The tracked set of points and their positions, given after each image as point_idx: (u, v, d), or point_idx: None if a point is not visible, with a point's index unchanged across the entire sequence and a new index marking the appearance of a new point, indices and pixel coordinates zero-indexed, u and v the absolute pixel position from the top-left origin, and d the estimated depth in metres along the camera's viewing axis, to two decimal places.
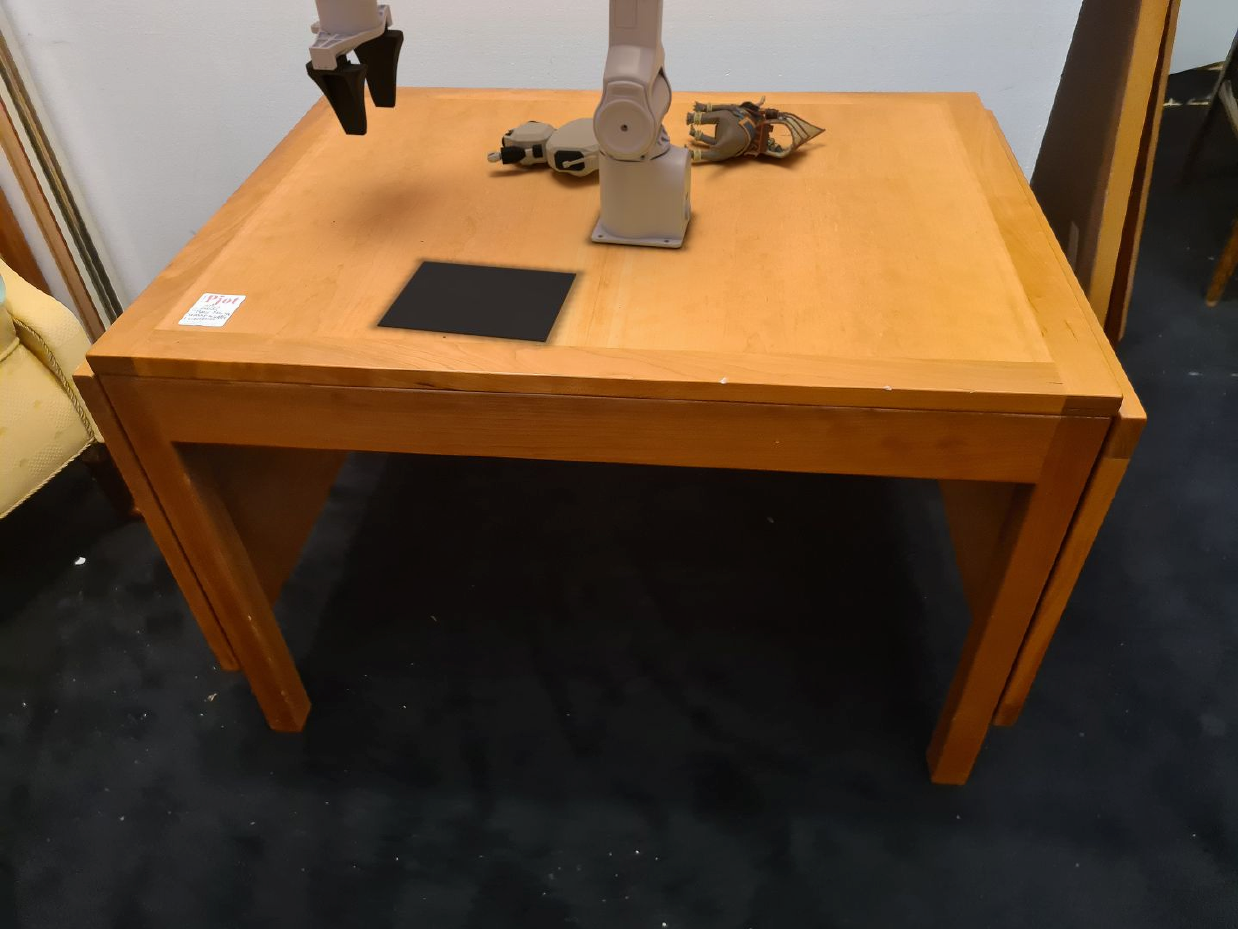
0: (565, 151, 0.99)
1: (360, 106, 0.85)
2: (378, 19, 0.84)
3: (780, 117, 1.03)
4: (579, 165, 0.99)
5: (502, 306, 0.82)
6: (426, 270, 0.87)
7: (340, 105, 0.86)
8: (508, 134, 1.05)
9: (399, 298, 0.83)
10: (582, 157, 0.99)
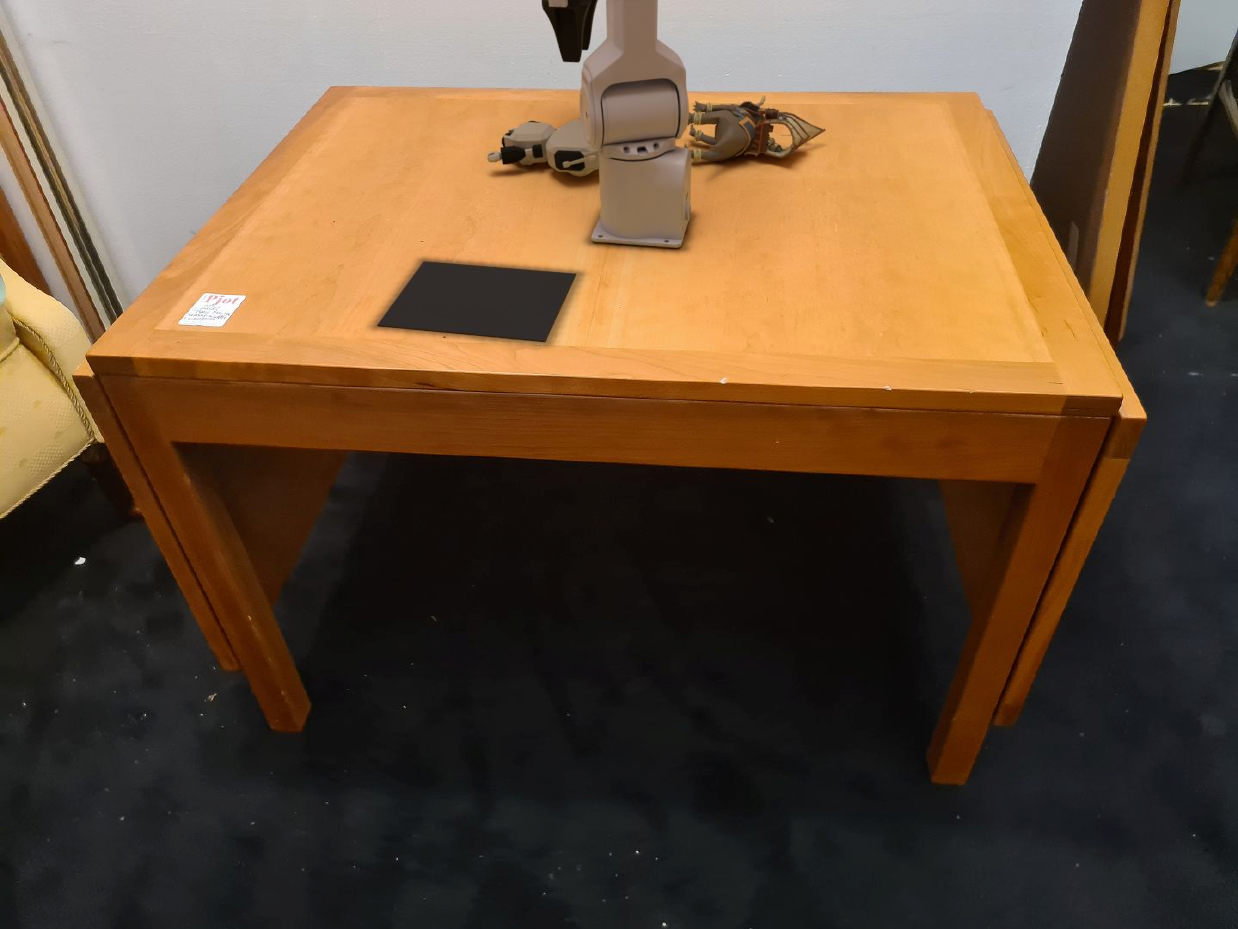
0: (565, 151, 0.99)
1: (581, 36, 1.03)
2: None
3: (780, 117, 1.03)
4: (579, 165, 0.99)
5: (502, 306, 0.82)
6: (426, 270, 0.87)
7: (563, 36, 1.03)
8: (508, 134, 1.05)
9: (399, 298, 0.83)
10: (582, 157, 0.99)
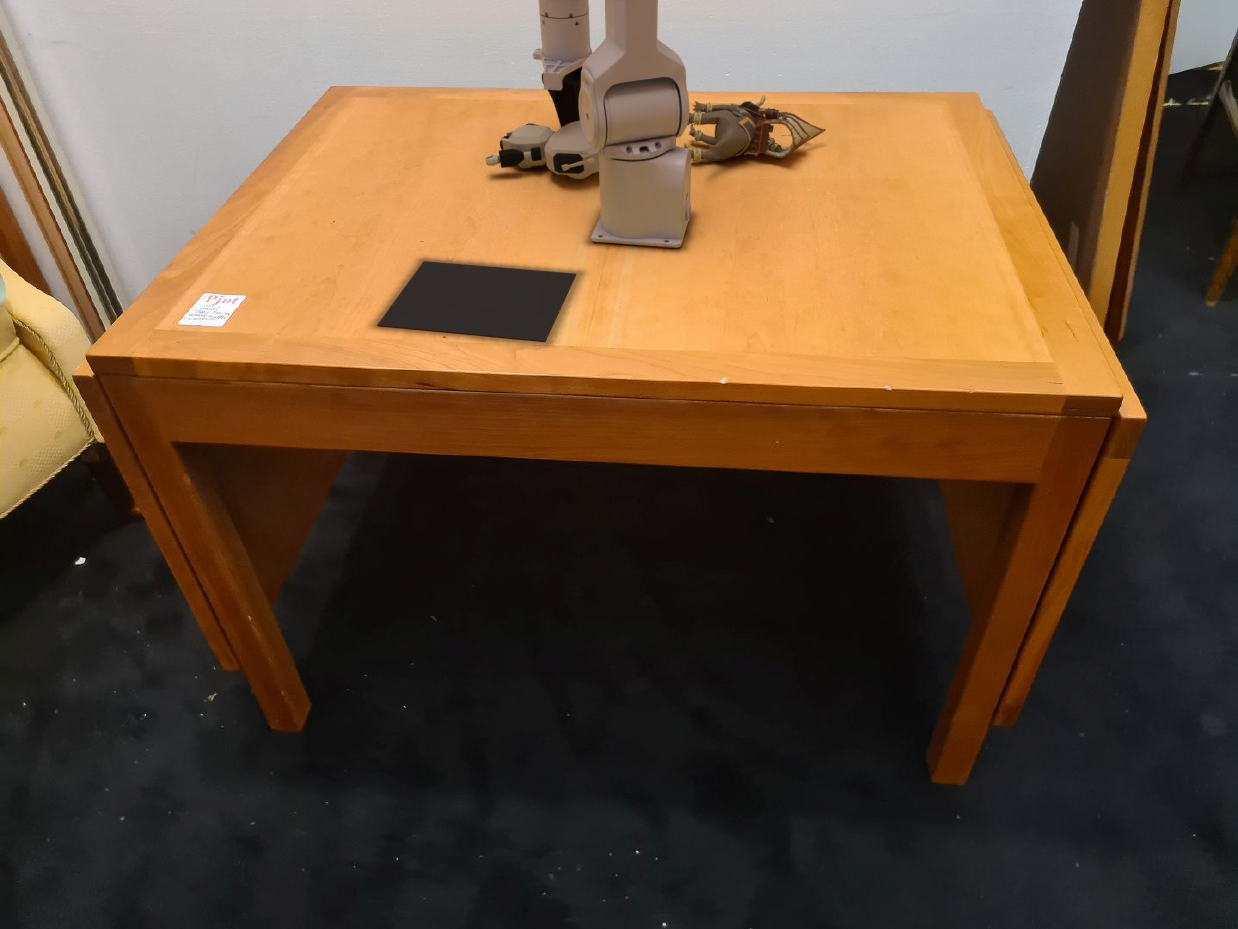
0: (564, 154, 0.99)
1: None
2: (590, 48, 1.02)
3: (780, 117, 1.03)
4: (578, 168, 0.99)
5: (502, 306, 0.82)
6: (426, 270, 0.87)
7: (562, 107, 1.07)
8: (506, 137, 1.05)
9: (399, 298, 0.83)
10: (581, 160, 0.98)
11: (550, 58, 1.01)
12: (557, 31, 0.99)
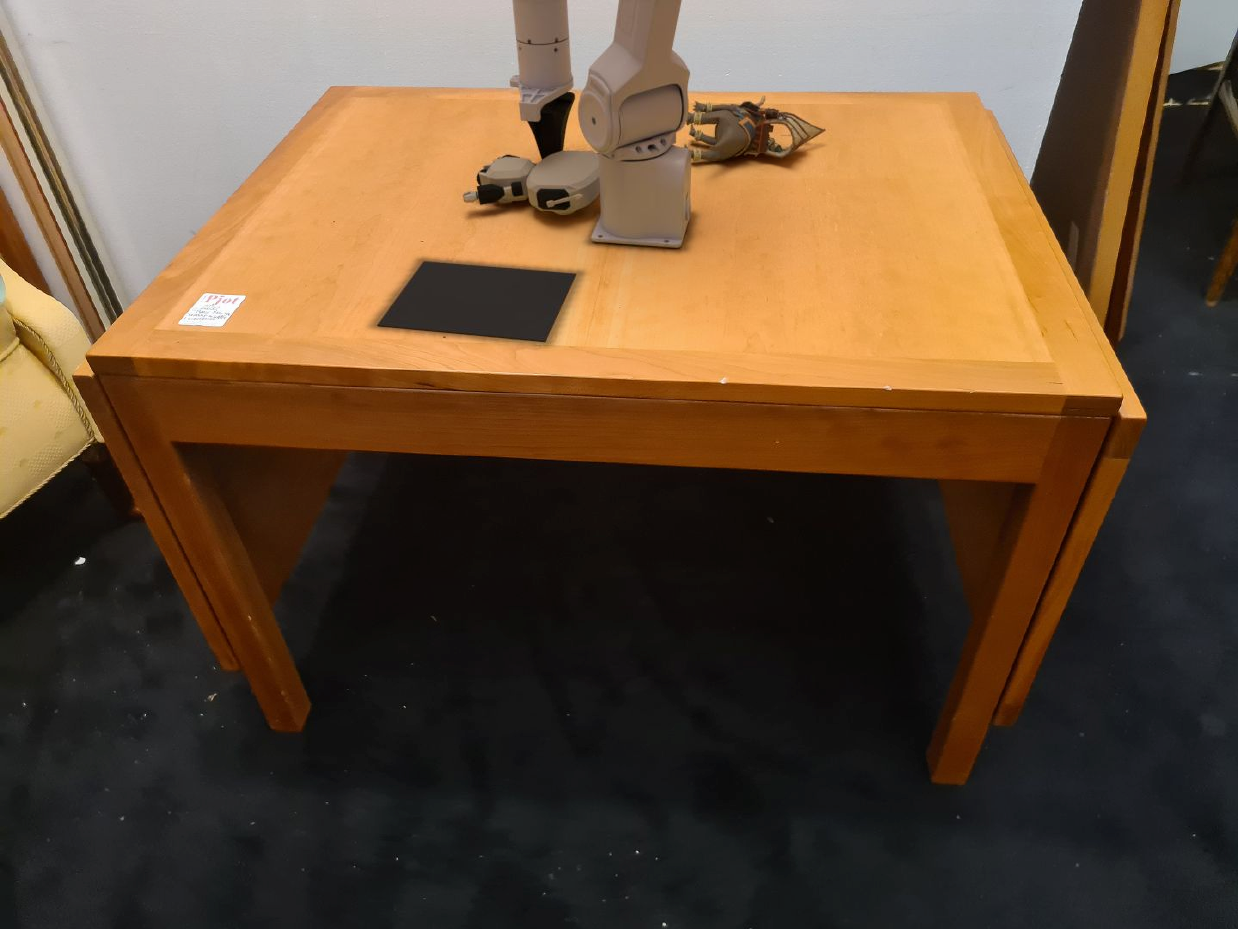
0: (548, 189, 0.92)
1: (560, 138, 0.99)
2: (570, 75, 0.95)
3: (780, 117, 1.03)
4: (564, 204, 0.92)
5: (502, 306, 0.82)
6: (426, 270, 0.87)
7: (542, 137, 1.00)
8: (484, 170, 0.97)
9: (399, 298, 0.83)
10: (567, 196, 0.91)
11: (528, 86, 0.94)
12: (535, 58, 0.92)
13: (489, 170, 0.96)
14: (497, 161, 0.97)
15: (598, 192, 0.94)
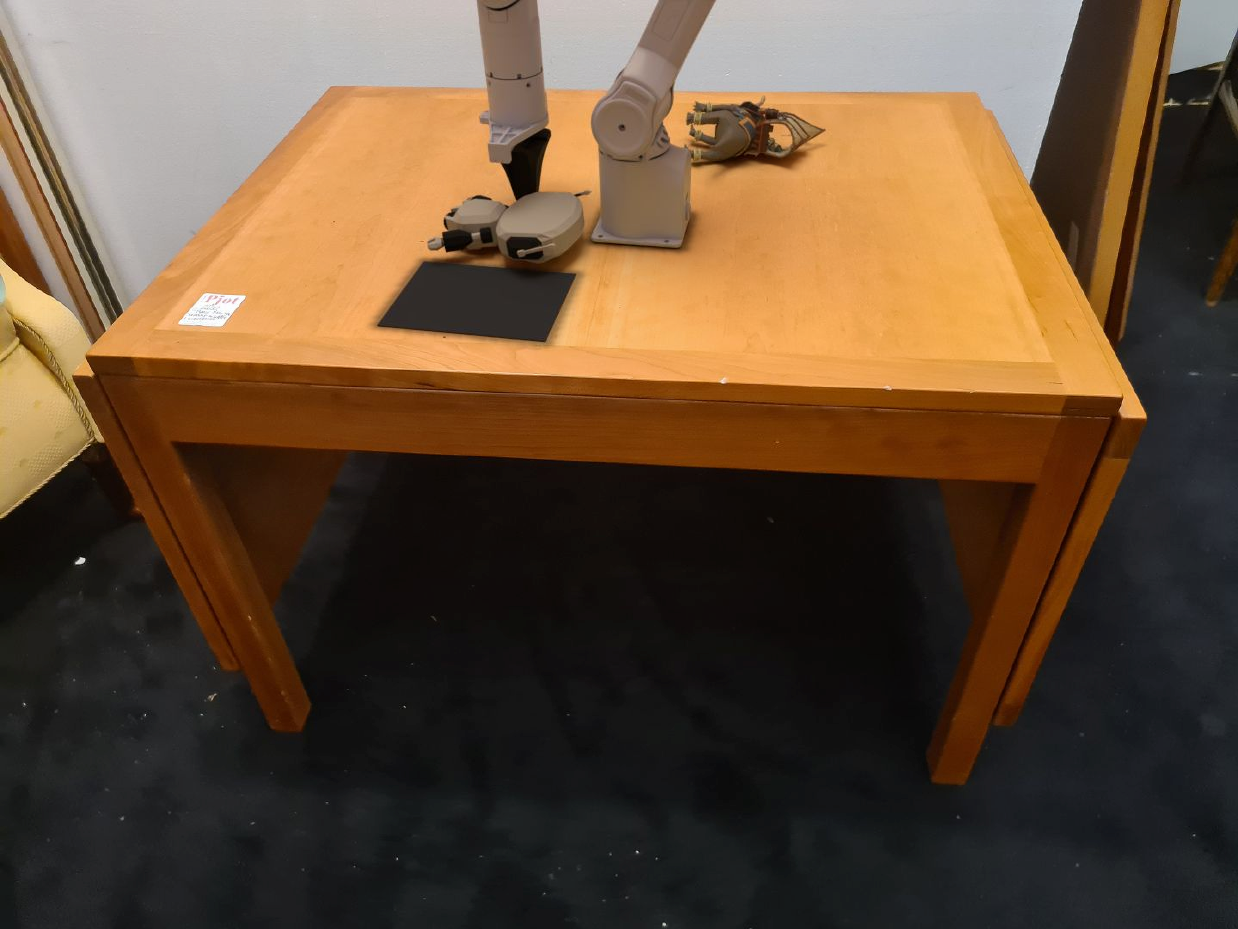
0: (519, 238, 0.84)
1: (535, 178, 0.91)
2: (545, 111, 0.87)
3: (780, 117, 1.03)
4: (536, 254, 0.84)
5: (502, 306, 0.82)
6: (426, 270, 0.87)
7: (515, 177, 0.92)
8: (451, 214, 0.90)
9: (399, 298, 0.83)
10: (539, 245, 0.84)
11: (498, 124, 0.86)
12: (505, 94, 0.84)
13: (456, 214, 0.88)
14: (465, 204, 0.89)
15: (574, 239, 0.86)
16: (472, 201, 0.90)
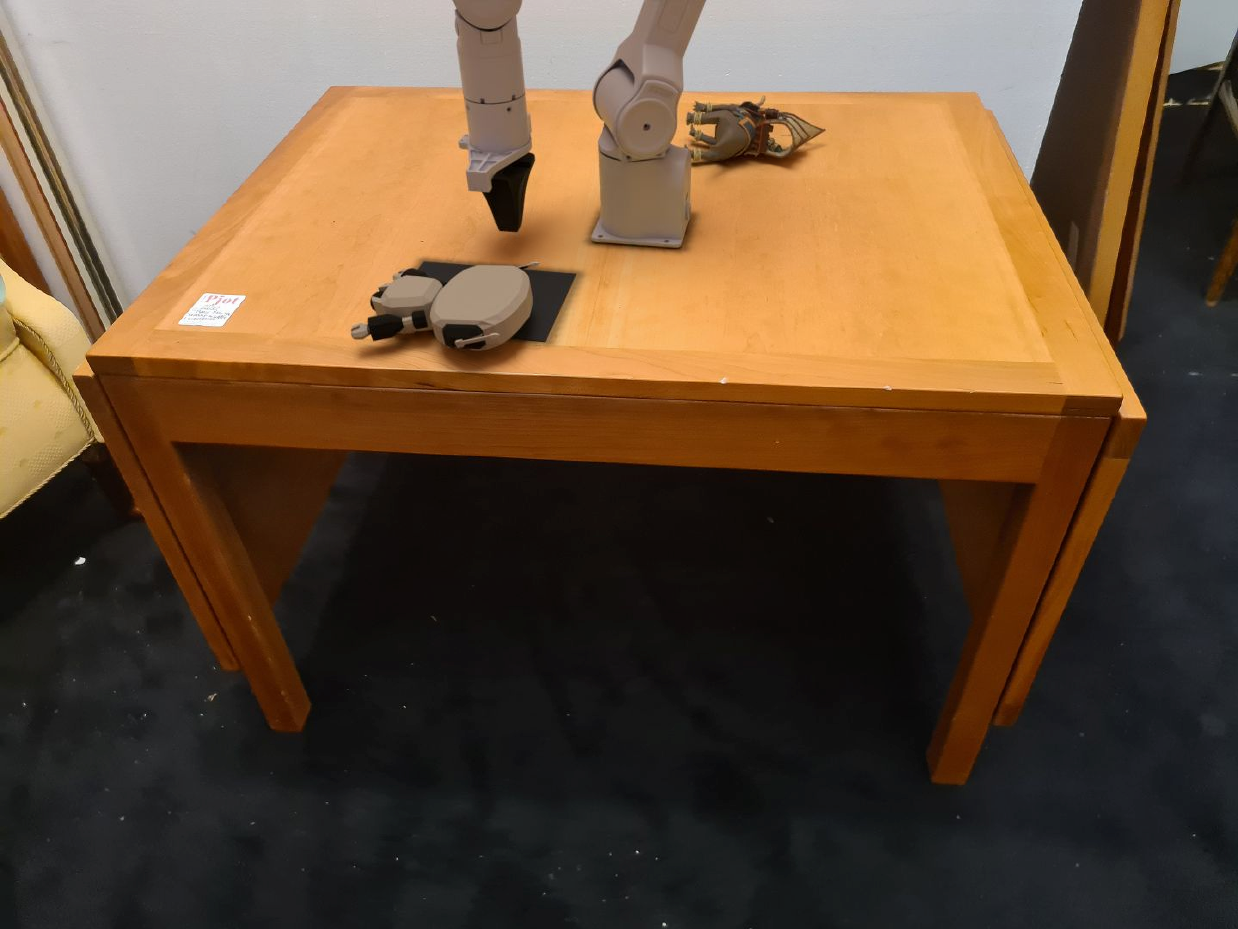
0: (457, 325, 0.72)
1: (518, 206, 0.86)
2: (528, 135, 0.83)
3: (780, 117, 1.03)
4: (478, 343, 0.73)
5: None
6: (426, 270, 0.87)
7: (497, 204, 0.87)
8: (378, 294, 0.78)
9: None
10: (481, 333, 0.72)
11: (478, 149, 0.82)
12: (485, 119, 0.79)
13: (384, 296, 0.77)
14: (395, 282, 0.78)
15: (521, 323, 0.75)
16: (402, 278, 0.78)
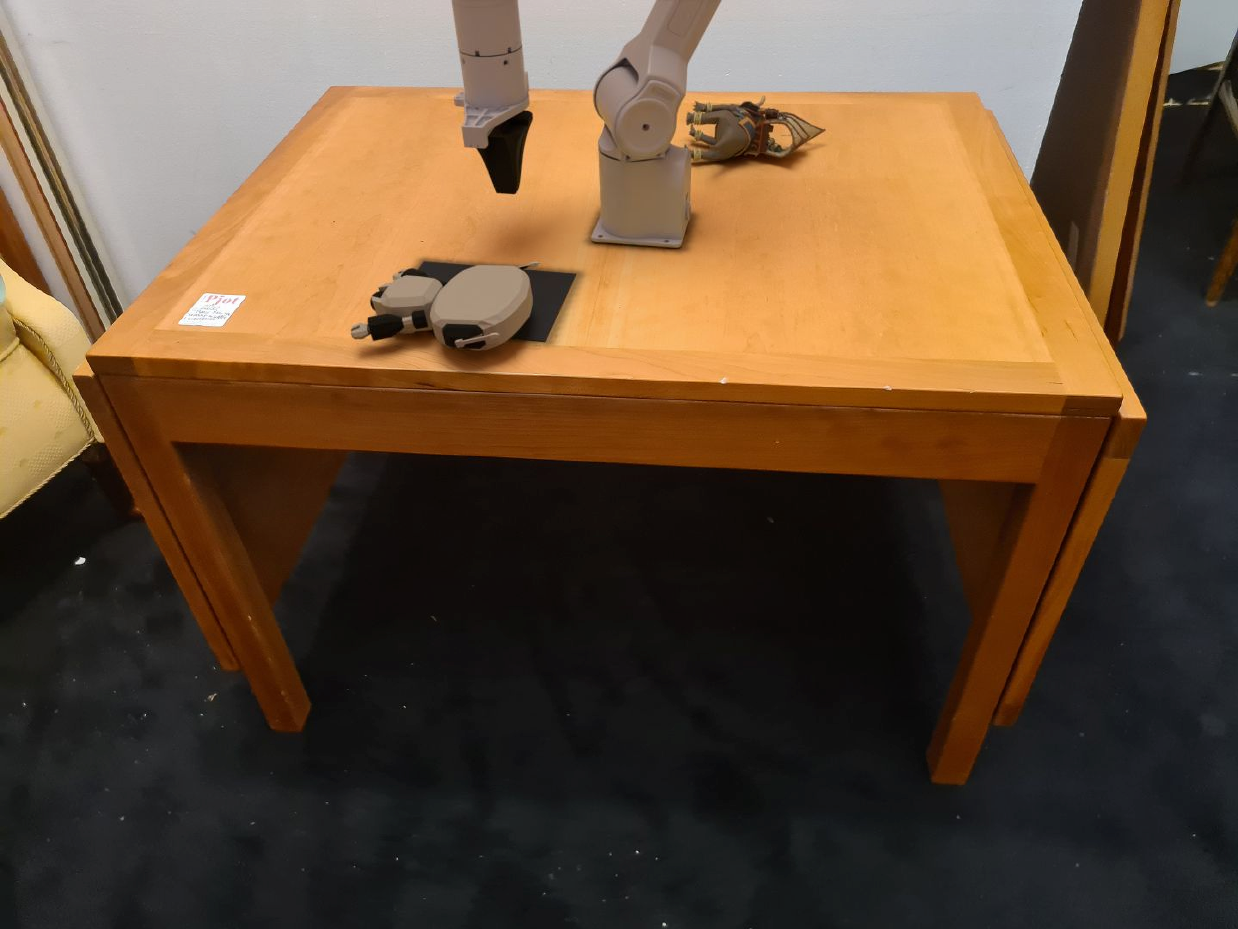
0: (457, 325, 0.72)
1: (516, 166, 0.84)
2: (525, 91, 0.80)
3: (780, 117, 1.03)
4: (478, 343, 0.73)
5: None
6: (426, 270, 0.87)
7: (494, 165, 0.85)
8: (378, 294, 0.78)
9: None
10: (481, 333, 0.72)
11: (474, 106, 0.79)
12: (481, 72, 0.77)
13: (384, 295, 0.77)
14: (395, 282, 0.78)
15: (521, 322, 0.75)
16: (403, 278, 0.78)
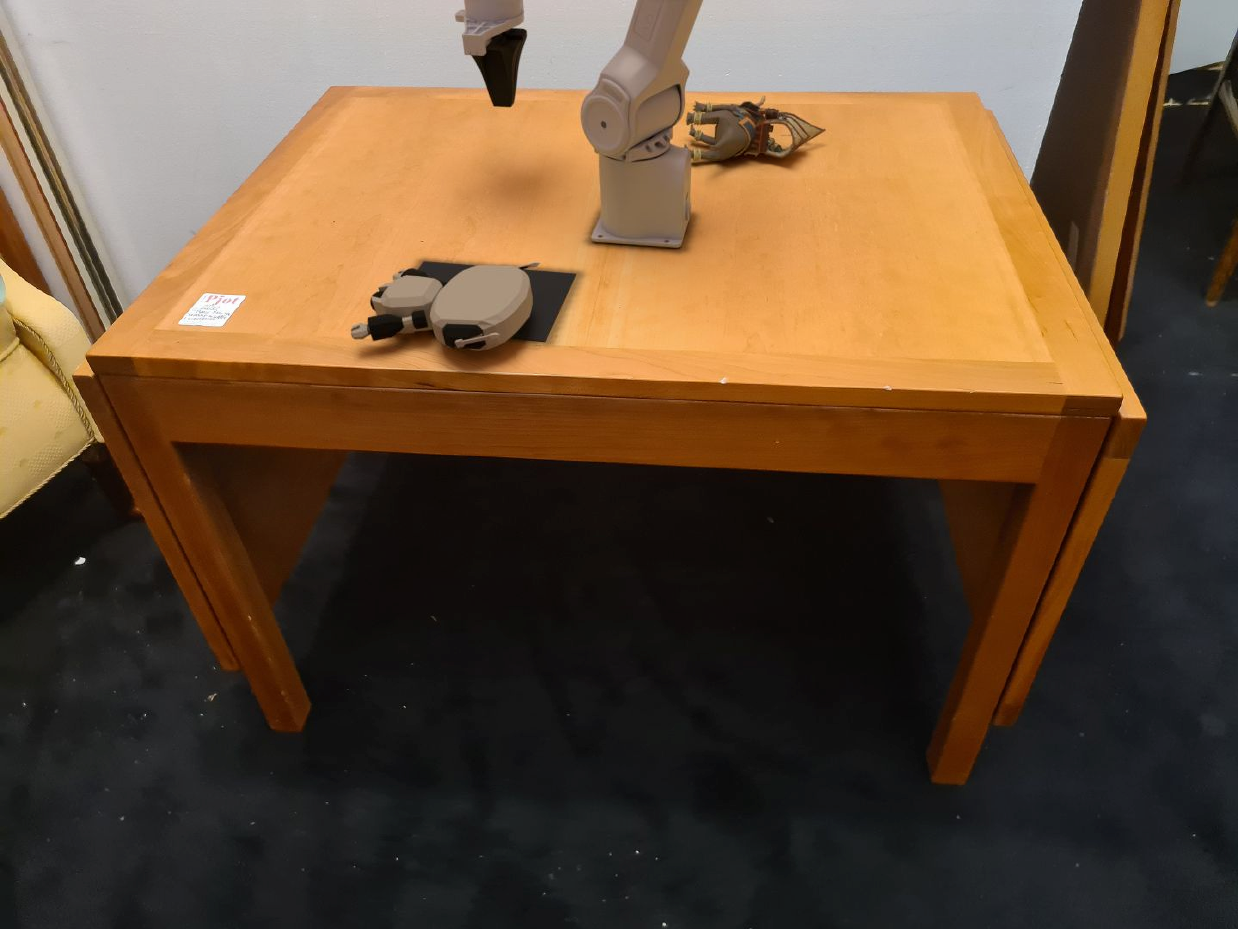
0: (457, 325, 0.72)
1: (511, 79, 0.92)
2: (520, 8, 0.88)
3: (780, 117, 1.03)
4: (478, 343, 0.73)
5: None
6: (426, 270, 0.87)
7: (491, 78, 0.93)
8: (378, 294, 0.78)
9: None
10: (481, 333, 0.72)
11: (473, 19, 0.87)
12: None
13: (384, 295, 0.77)
14: (395, 282, 0.78)
15: (521, 323, 0.75)
16: (403, 278, 0.78)
